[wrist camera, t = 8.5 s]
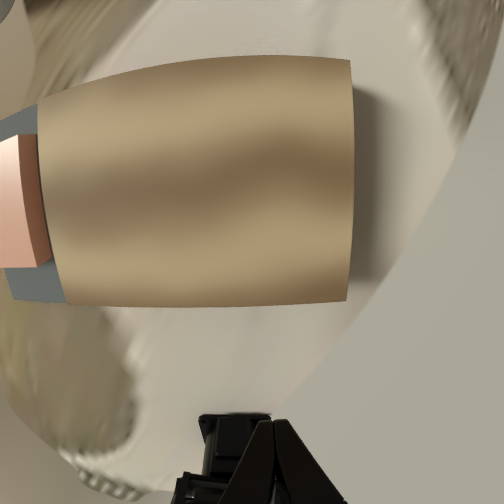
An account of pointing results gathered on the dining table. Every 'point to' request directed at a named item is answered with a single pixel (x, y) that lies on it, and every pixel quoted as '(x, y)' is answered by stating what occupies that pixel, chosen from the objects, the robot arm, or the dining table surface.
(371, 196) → the dining table surface
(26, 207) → the salmon pink block
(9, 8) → the photo printer
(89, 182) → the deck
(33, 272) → the mat
